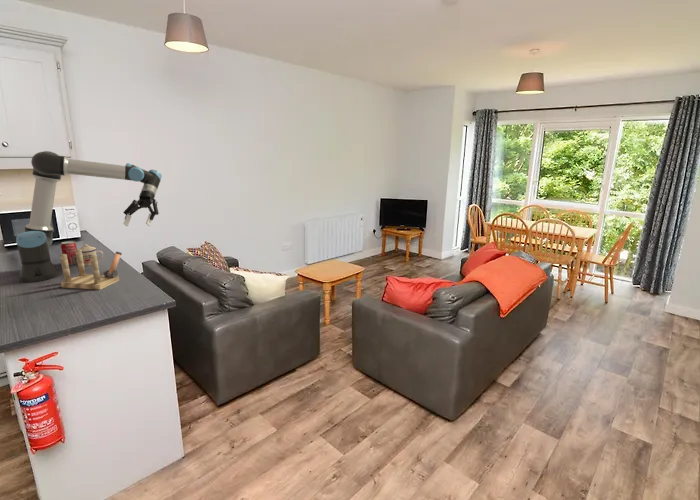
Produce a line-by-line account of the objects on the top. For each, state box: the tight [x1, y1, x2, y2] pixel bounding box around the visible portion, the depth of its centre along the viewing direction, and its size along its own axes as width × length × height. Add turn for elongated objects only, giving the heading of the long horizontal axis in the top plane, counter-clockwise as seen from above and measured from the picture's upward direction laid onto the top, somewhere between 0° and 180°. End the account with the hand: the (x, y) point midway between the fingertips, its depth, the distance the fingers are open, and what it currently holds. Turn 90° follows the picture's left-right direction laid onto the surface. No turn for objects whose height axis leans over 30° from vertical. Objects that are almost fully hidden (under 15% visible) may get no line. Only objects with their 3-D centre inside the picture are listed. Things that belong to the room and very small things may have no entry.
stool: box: [59, 248, 120, 290], centre depth 183 cm, size 20×13×16 cm, turn 85°
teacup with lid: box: [79, 243, 104, 267], centre depth 216 cm, size 12×9×12 cm
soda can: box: [60, 240, 78, 266], centre depth 214 cm, size 7×7×13 cm
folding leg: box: [106, 251, 123, 277], centre depth 190 cm, size 3×3×13 cm
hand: (136, 224), depth 208 cm, fingers open, 13 cm apart
